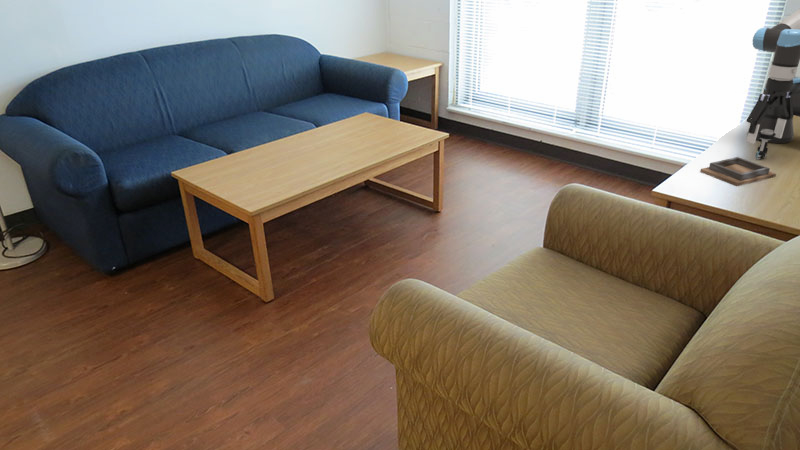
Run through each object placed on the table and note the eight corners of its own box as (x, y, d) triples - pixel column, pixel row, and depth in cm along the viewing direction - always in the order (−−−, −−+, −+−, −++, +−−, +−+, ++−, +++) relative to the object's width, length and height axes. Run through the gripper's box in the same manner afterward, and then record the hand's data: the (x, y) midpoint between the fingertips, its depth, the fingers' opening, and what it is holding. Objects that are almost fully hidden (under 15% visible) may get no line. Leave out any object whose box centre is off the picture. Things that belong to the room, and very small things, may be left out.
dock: (737, 163, 206) (739, 154, 205) (775, 176, 195) (777, 167, 193) (700, 171, 200) (702, 163, 198) (736, 186, 188) (739, 177, 187)
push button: (765, 162, 206) (773, 134, 202) (748, 158, 210) (755, 131, 205) (770, 157, 211) (778, 130, 206) (754, 154, 214) (761, 127, 210)
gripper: (765, 84, 190) (748, 147, 199) (816, 77, 199) (797, 138, 209) (745, 79, 196) (729, 141, 205) (795, 72, 205) (777, 132, 215)
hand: (763, 139), depth 207 cm, fingers open, 13 cm apart
